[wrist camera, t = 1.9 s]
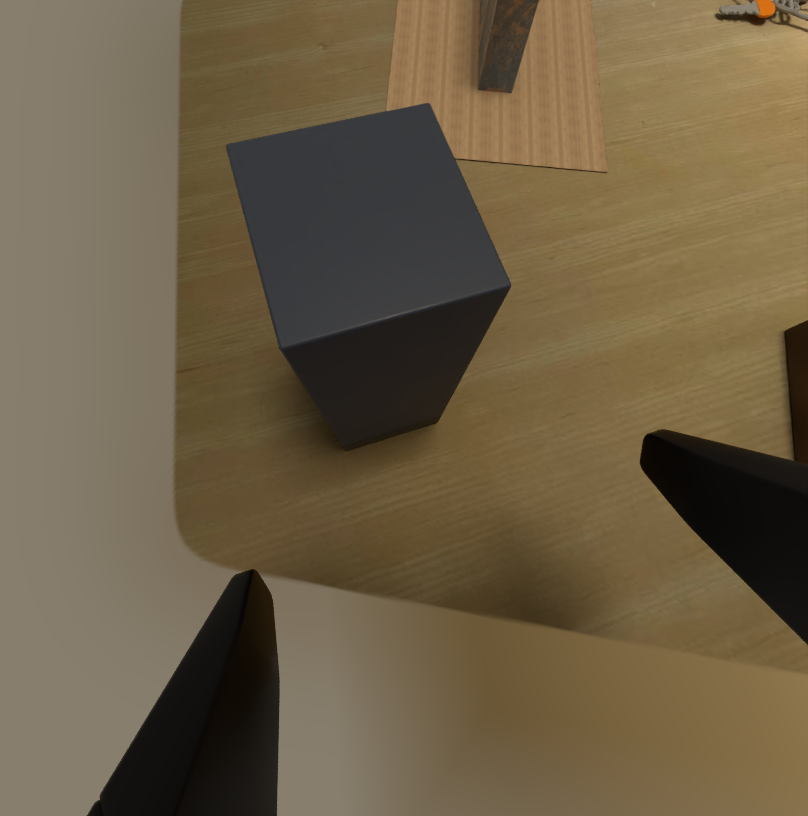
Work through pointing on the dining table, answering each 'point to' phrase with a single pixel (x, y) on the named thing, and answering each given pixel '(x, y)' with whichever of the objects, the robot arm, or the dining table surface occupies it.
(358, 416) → the charcoal gray box
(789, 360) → the brown serving tray
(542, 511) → the dining table surface
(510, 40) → the architectural model on board
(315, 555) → the dining table surface
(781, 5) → the key chain
